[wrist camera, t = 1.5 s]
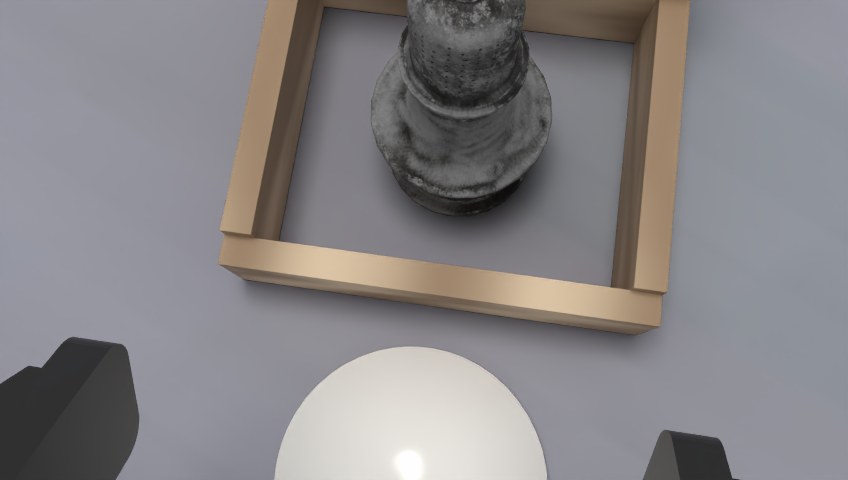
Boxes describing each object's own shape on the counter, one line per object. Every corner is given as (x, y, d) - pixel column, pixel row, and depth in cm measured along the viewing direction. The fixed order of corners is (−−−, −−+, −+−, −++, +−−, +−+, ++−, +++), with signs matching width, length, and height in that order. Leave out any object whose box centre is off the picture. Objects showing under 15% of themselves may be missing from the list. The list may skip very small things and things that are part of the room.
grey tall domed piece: (476, 256, 26) (498, 140, 15) (348, 162, 27) (272, -17, 16) (570, 131, 27) (662, -72, 16) (443, 45, 28) (440, -208, 17)
